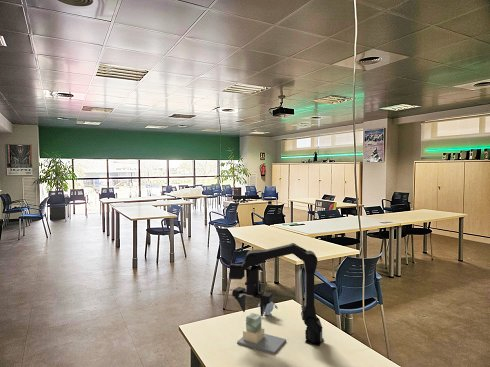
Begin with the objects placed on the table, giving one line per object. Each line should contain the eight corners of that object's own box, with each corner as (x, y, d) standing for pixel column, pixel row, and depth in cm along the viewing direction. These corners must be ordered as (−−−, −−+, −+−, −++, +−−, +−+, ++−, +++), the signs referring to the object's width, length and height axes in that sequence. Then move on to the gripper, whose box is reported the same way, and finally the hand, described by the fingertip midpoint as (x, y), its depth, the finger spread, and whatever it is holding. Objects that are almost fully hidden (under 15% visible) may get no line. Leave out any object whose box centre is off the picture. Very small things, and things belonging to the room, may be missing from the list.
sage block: (261, 328, 151) (261, 315, 151) (256, 332, 147) (255, 319, 146) (251, 325, 154) (251, 312, 153) (246, 330, 149) (246, 317, 149)
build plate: (286, 341, 149) (285, 330, 149) (274, 354, 138) (274, 342, 138) (250, 332, 158) (250, 321, 158) (237, 343, 148) (237, 332, 147)
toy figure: (278, 313, 177) (278, 291, 177) (276, 318, 171) (276, 295, 171) (259, 311, 180) (258, 289, 180) (256, 316, 174) (256, 294, 174)
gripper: (279, 277, 151) (279, 311, 152) (243, 271, 161) (244, 303, 161) (268, 284, 142) (268, 321, 142) (231, 278, 151) (231, 312, 152)
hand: (253, 313), depth 150 cm, fingers open, 9 cm apart
